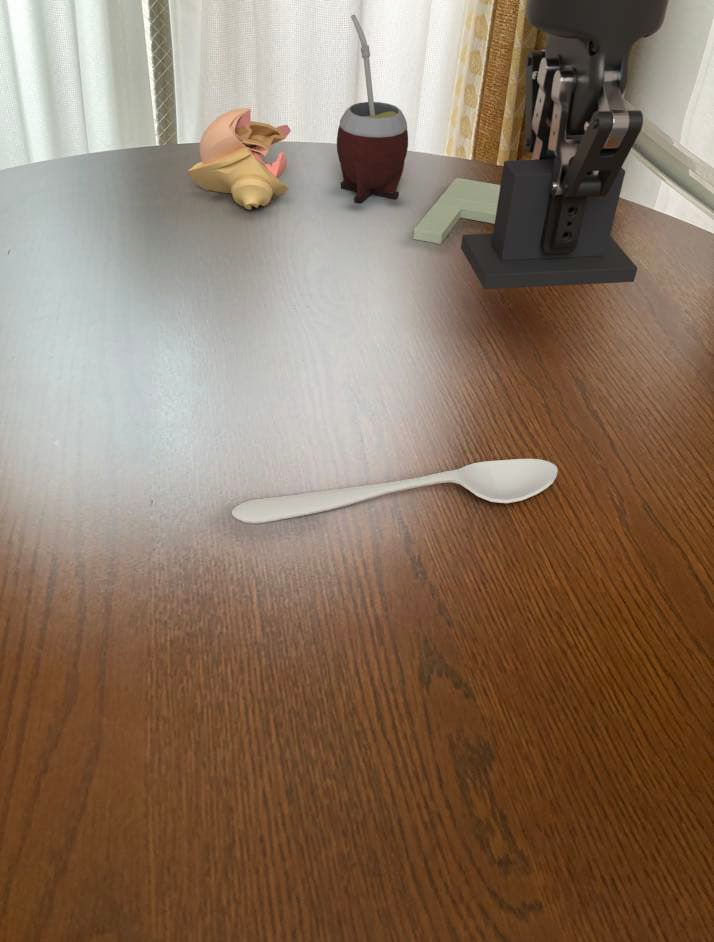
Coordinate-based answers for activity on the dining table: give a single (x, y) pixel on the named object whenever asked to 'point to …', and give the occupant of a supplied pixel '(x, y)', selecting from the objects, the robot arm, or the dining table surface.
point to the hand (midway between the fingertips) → (549, 240)
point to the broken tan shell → (240, 159)
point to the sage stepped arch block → (458, 209)
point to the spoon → (481, 478)
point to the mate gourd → (371, 141)
